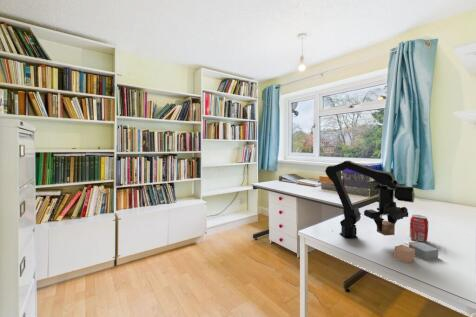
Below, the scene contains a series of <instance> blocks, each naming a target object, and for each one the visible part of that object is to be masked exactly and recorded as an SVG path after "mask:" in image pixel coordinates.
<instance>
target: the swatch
mask: <svg viewBox="0 0 476 317" xmlns="http://www.w3.org/2000/svg"><path fill="white" fill-rule="evenodd" d="M413 243H420V242H419V241H415V240H411V241H403V244H405V245H406V246H409V244H413Z"/></svg>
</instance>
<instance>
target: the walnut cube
mask: <svg viewBox="0 0 476 317" xmlns="http://www.w3.org/2000/svg"><path fill="white" fill-rule="evenodd" d="M395 229H396V223H395V224H393V223H390V222H388V220H383V221H382V231H379V229H378V227H377V226H376V232H377V233H379V234H380V235H383V236H395Z"/></svg>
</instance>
